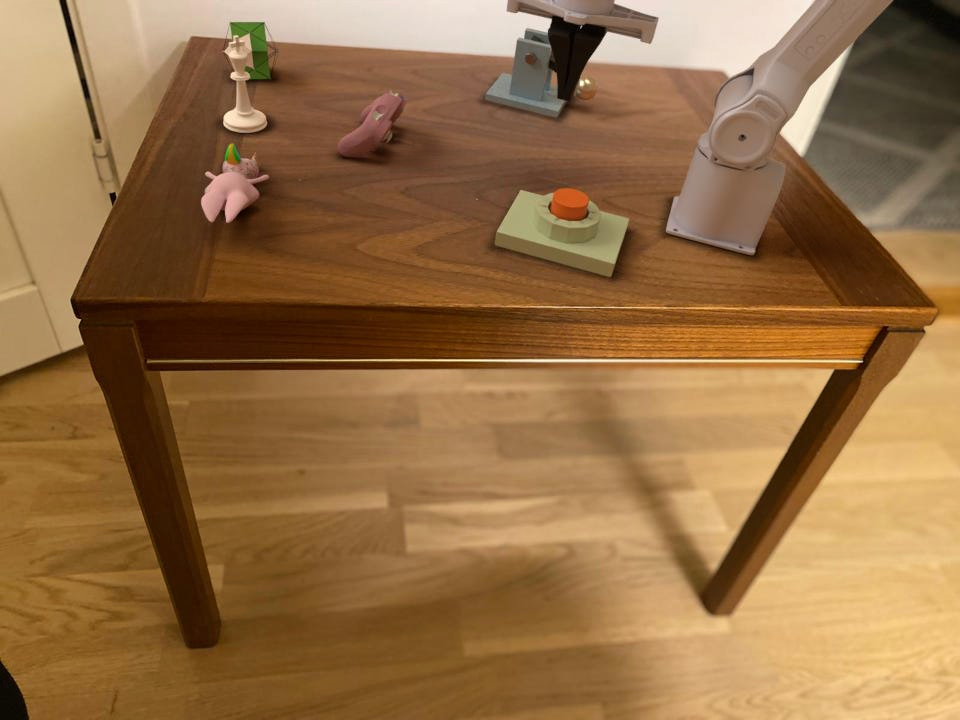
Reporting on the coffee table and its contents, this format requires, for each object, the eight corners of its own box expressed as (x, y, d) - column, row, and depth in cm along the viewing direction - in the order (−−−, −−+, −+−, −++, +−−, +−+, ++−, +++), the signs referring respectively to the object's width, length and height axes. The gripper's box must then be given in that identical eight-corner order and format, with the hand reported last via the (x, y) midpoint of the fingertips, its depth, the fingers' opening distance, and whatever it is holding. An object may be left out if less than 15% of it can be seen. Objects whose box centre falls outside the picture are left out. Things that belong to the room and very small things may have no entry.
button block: (625, 232, 79) (634, 203, 77) (610, 278, 73) (619, 248, 70) (518, 203, 81) (523, 174, 79) (494, 245, 74) (498, 215, 72)
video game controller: (367, 176, 84) (395, 130, 80) (332, 152, 83) (359, 104, 79) (391, 138, 92) (419, 94, 87) (360, 116, 90) (386, 70, 86)
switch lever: (590, 99, 100) (603, 81, 98) (586, 108, 98) (599, 89, 96) (524, 51, 98) (536, 31, 96) (518, 58, 96) (530, 38, 94)
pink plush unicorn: (215, 178, 80) (185, 237, 68) (210, 123, 77) (177, 174, 64) (275, 181, 81) (256, 240, 69) (272, 127, 78) (251, 178, 65)
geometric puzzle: (220, 43, 98) (216, 5, 90) (274, 42, 100) (274, 5, 92) (227, 94, 97) (224, 60, 89) (281, 92, 99) (282, 59, 91)
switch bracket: (570, 97, 103) (582, 36, 97) (556, 120, 97) (569, 56, 92) (501, 80, 104) (509, 19, 99) (484, 102, 99) (492, 38, 93)
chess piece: (215, 119, 87) (203, 31, 80) (253, 110, 90) (245, 25, 83) (236, 136, 85) (226, 48, 78) (275, 127, 87) (268, 40, 80)
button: (588, 208, 76) (592, 193, 74) (581, 226, 73) (585, 210, 72) (554, 199, 76) (557, 184, 75) (546, 216, 74) (549, 201, 72)
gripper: (506, -53, 66) (488, 94, 76) (665, -19, 64) (626, 128, 73) (526, -69, 72) (507, 70, 81) (674, -39, 69) (637, 101, 79)
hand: (565, 96), depth 77 cm, fingers closed
